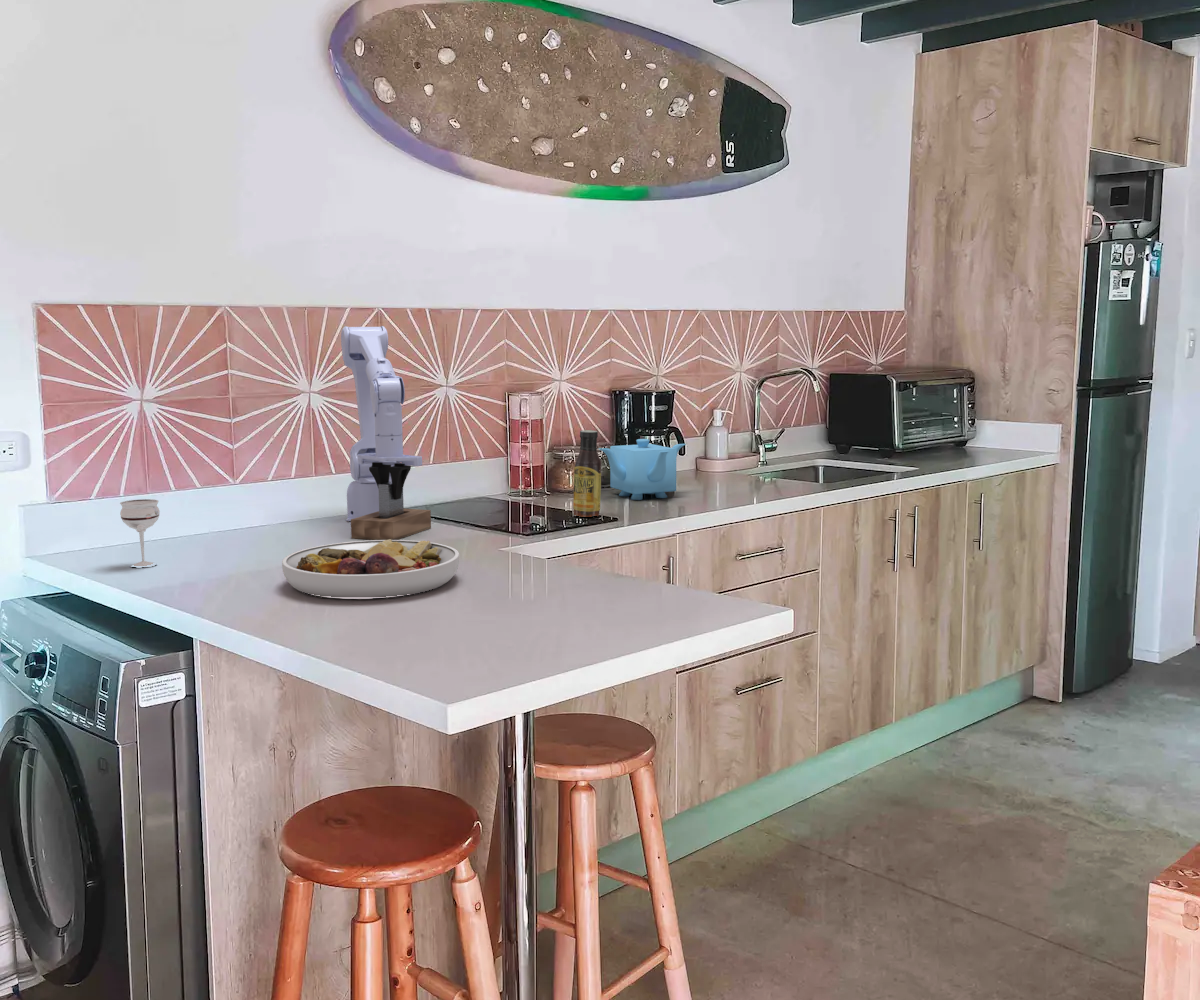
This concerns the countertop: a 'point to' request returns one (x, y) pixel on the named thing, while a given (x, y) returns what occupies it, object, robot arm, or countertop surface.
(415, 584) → the bowl
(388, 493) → the gray rectangular block
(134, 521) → the wineglass
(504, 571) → the countertop surface
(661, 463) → the teakettle
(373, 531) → the wooden slotted block
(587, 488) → the sauce bottle
